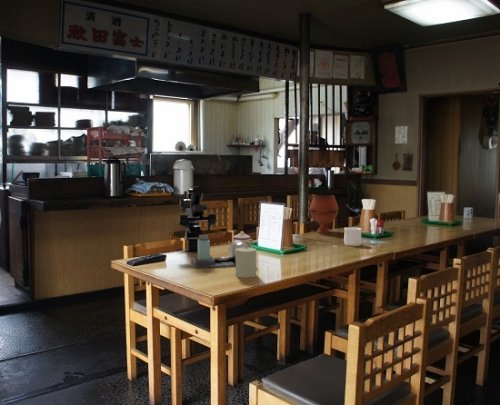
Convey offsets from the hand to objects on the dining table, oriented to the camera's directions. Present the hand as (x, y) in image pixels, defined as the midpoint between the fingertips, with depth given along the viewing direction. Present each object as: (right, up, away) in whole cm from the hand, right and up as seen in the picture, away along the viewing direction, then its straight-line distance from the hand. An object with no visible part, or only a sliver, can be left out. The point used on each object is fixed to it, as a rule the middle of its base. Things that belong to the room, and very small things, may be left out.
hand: (199, 232), depth 244 cm
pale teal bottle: (+3, -14, -11) cm, 18 cm away
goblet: (+76, -5, +87) cm, 115 cm away
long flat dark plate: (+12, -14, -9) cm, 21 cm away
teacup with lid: (+22, -12, +16) cm, 30 cm away
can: (+24, -17, -32) cm, 43 cm away
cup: (+86, -10, +41) cm, 95 cm away
